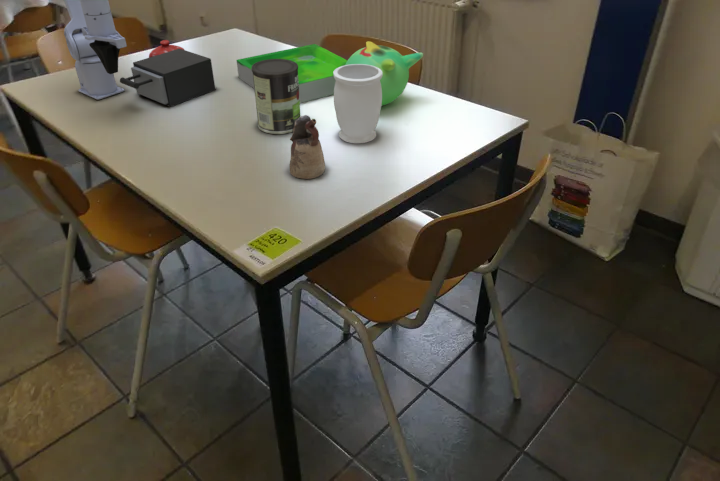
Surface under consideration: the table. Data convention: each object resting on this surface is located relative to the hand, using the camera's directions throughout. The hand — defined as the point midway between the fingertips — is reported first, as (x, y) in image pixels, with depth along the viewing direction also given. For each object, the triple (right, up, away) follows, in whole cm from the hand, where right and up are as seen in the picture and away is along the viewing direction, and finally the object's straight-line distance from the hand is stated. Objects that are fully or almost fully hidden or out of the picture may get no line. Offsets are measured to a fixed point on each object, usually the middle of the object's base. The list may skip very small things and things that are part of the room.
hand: (112, 72), depth 133 cm
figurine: (+47, -25, -17) cm, 56 cm away
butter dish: (+4, +9, +29) cm, 31 cm away
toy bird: (+63, -5, +12) cm, 64 cm away
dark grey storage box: (+10, 0, +16) cm, 19 cm away
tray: (+42, +4, +23) cm, 48 cm away
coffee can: (+39, -12, +1) cm, 41 cm away
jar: (+58, -16, -4) cm, 60 cm away
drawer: (+7, -2, +13) cm, 15 cm away
